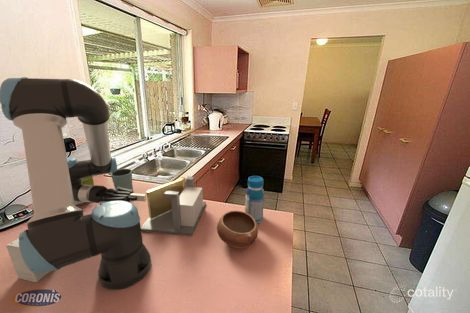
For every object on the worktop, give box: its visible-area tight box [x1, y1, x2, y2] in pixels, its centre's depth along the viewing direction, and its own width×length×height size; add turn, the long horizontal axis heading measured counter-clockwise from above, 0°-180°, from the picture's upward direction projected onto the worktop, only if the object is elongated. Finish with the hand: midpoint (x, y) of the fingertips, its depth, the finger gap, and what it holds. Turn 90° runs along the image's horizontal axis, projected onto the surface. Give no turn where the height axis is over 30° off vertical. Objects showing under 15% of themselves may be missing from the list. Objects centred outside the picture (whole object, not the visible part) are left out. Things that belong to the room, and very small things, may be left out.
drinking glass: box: [110, 168, 134, 191], centre depth 116 cm, size 10×10×12 cm
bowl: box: [216, 210, 259, 249], centre depth 82 cm, size 16×16×10 cm
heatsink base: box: [140, 176, 207, 236], centre depth 95 cm, size 22×24×17 cm
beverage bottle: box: [244, 175, 265, 224], centre depth 94 cm, size 8×8×20 cm
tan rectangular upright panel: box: [145, 177, 187, 219], centre depth 97 cm, size 2×19×13 cm, turn 140°
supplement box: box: [5, 237, 51, 283], centre depth 66 cm, size 7×7×13 cm
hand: (145, 197), depth 92 cm, fingers closed
